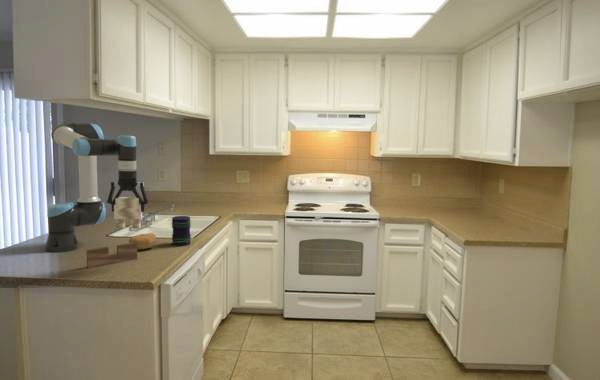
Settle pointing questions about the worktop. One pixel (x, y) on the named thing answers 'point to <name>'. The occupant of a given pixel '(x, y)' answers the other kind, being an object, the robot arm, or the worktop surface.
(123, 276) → the worktop surface
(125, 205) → the birch plate
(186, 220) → the storage jar
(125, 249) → the walnut board
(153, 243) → the potato
